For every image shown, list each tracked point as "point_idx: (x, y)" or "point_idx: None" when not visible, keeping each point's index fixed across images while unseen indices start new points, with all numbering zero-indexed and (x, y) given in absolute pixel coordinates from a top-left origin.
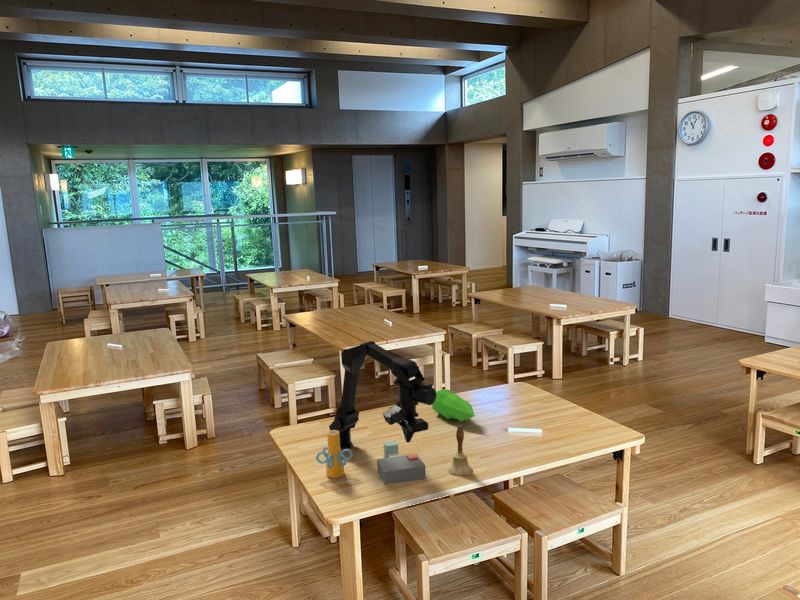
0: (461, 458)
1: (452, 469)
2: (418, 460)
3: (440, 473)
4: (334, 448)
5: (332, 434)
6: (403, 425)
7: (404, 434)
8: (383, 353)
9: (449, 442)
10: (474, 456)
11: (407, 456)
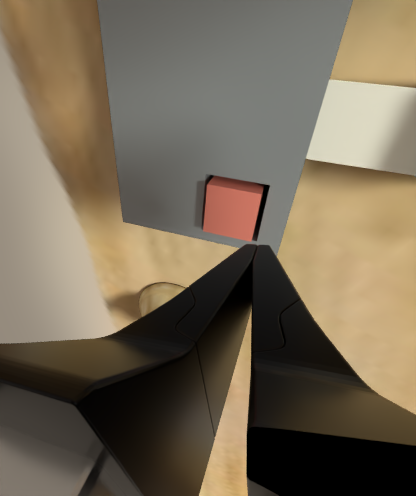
0: None
1: (161, 297)
2: (188, 222)
3: (176, 260)
4: None
5: None
6: (49, 421)
7: (264, 283)
8: None
9: None
10: (240, 379)
11: (253, 190)
